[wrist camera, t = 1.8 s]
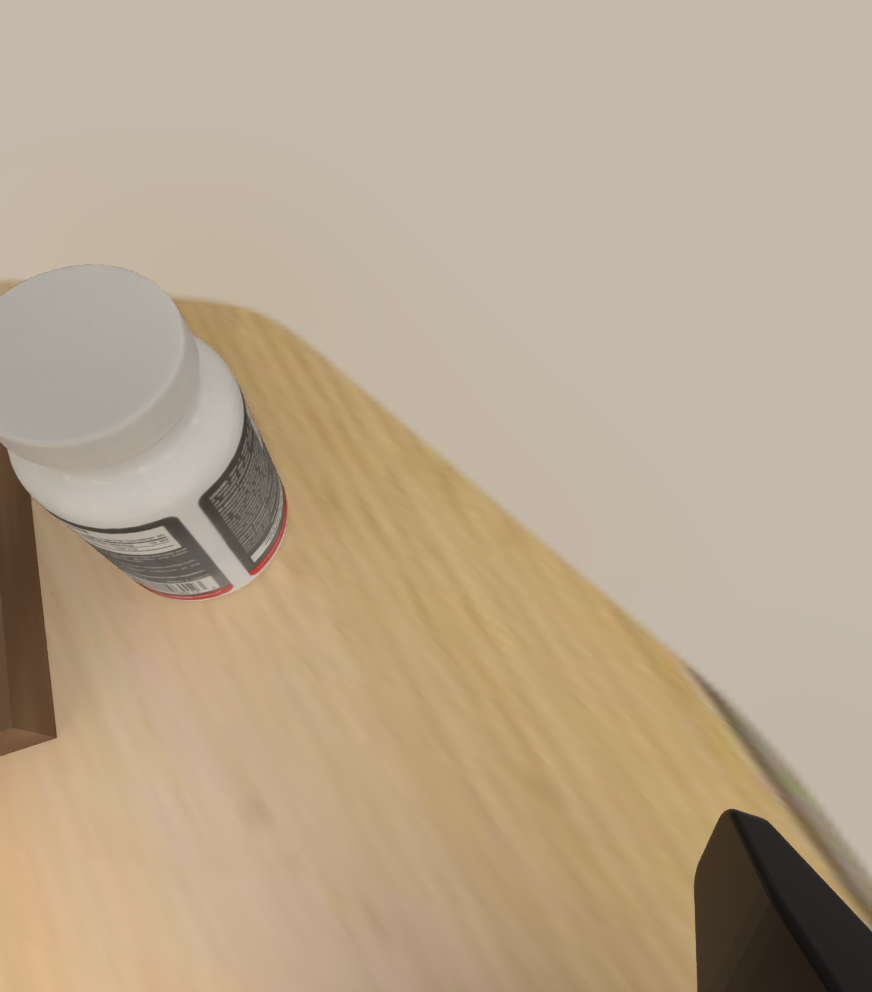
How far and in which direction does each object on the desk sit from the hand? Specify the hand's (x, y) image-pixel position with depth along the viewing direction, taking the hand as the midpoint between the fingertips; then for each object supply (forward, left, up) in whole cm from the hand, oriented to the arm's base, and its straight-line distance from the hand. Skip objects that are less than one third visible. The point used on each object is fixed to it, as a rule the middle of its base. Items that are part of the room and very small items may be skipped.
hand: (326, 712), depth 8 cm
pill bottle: (-3, +10, -14) cm, 17 cm away
